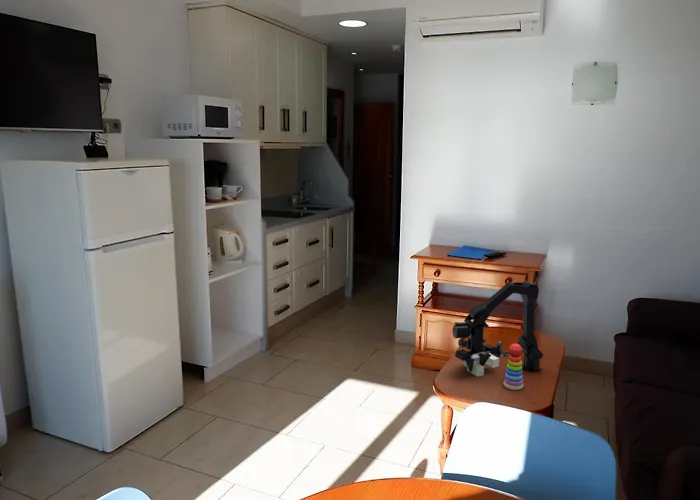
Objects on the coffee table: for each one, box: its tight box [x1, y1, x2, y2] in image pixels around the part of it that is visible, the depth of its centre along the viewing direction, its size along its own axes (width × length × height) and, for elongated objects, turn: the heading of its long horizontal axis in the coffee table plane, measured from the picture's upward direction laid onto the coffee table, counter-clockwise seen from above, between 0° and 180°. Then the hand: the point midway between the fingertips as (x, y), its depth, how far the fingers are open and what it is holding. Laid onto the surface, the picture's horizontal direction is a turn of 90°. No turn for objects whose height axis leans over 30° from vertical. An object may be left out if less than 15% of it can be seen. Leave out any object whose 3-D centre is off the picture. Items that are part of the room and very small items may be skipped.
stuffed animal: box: [489, 341, 511, 359], centre depth 260 cm, size 12×10×12 cm
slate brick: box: [462, 354, 479, 368], centre depth 246 cm, size 7×4×4 cm, turn 115°
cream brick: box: [485, 353, 500, 369], centre depth 246 cm, size 7×4×4 cm, turn 25°
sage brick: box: [466, 361, 485, 378], centre depth 237 cm, size 7×4×4 cm, turn 25°
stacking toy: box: [503, 343, 524, 391], centre depth 222 cm, size 8×8×19 cm
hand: (475, 370), depth 237 cm, fingers open, 5 cm apart
